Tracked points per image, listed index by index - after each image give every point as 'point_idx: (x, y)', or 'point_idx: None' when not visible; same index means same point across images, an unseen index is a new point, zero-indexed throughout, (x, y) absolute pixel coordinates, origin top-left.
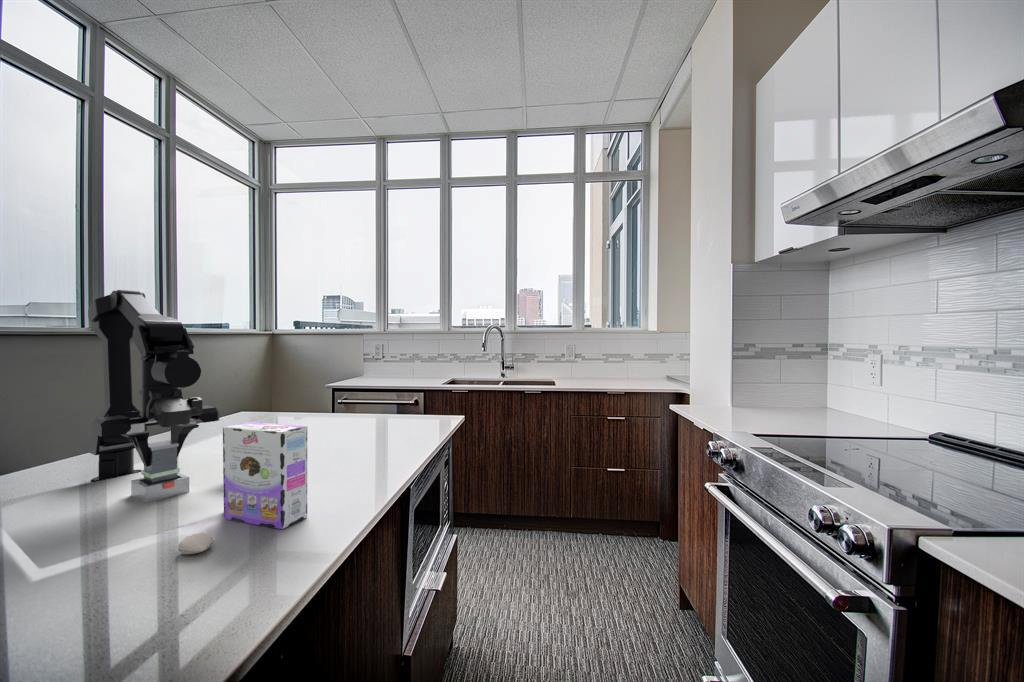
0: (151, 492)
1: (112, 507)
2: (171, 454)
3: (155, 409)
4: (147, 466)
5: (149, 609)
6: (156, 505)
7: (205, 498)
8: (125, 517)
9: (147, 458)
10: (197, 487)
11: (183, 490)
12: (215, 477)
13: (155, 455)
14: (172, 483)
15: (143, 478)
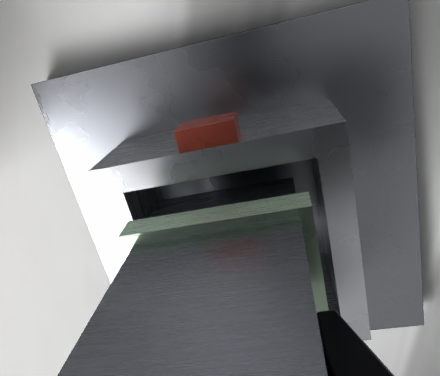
0: (305, 115)
1: (425, 232)
2: (130, 332)
3: None
4: (326, 312)
5: None
6: None
7: (64, 50)
8: (428, 13)
9: (346, 356)
10: (95, 260)
11: (144, 141)
12: (28, 342)
13: (284, 331)
14: (187, 126)
15: None
